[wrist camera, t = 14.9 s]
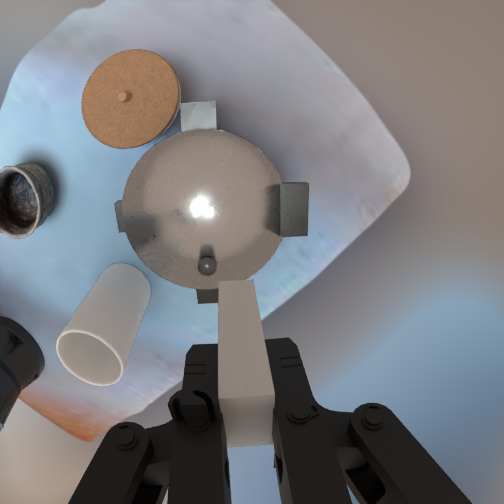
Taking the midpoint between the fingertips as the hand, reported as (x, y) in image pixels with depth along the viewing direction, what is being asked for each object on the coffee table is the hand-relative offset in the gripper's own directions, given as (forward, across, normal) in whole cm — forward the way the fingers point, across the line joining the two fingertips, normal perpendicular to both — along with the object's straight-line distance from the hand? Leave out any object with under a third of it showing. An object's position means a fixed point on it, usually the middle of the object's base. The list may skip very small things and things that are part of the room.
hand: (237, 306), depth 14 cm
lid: (+16, -2, 0) cm, 16 cm away
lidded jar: (+27, -10, +12) cm, 31 cm away
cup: (+27, -16, -13) cm, 34 cm away
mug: (+27, -29, +2) cm, 40 cm away
